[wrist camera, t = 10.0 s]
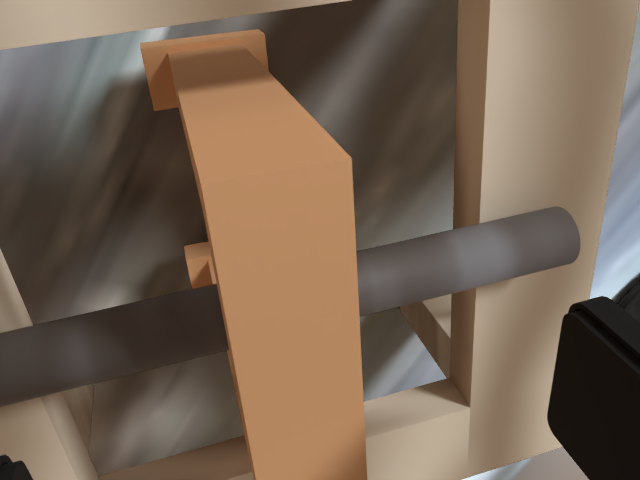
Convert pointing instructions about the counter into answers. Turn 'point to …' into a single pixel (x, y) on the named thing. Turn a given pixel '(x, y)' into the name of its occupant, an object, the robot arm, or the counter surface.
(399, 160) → the counter surface
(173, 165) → the counter surface
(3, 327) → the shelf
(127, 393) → the counter surface
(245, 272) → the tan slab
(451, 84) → the counter surface
